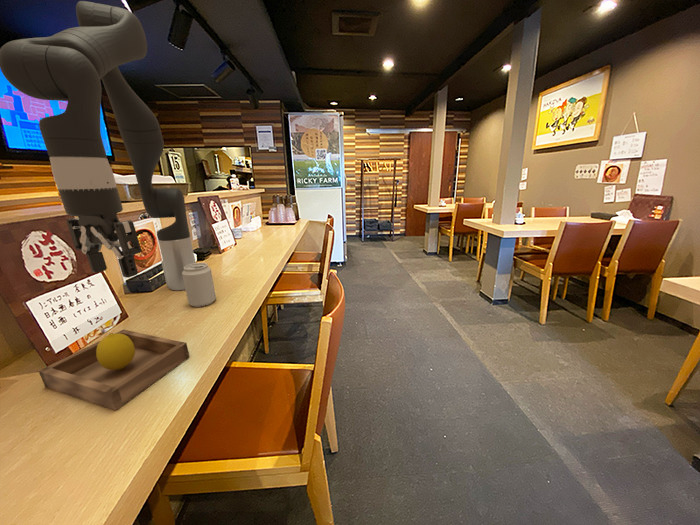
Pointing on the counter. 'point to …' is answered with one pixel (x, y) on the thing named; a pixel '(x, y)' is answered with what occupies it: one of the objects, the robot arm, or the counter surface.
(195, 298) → the can
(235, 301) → the counter surface
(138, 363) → the tray
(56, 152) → the robot arm
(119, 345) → the lemon
